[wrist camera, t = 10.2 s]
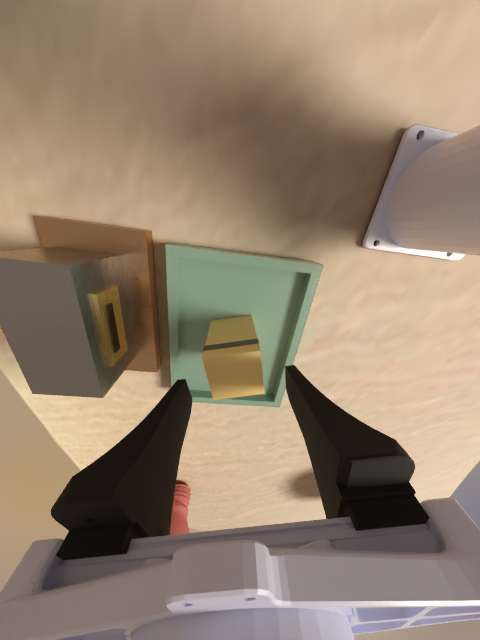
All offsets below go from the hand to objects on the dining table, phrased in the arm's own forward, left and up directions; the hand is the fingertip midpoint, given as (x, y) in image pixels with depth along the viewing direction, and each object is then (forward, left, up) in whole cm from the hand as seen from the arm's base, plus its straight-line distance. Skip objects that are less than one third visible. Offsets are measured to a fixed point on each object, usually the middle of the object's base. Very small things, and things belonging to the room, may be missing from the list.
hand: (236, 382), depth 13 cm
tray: (0, 0, -7) cm, 7 cm away
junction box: (+12, -2, -7) cm, 14 cm away
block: (0, 0, -6) cm, 6 cm away
